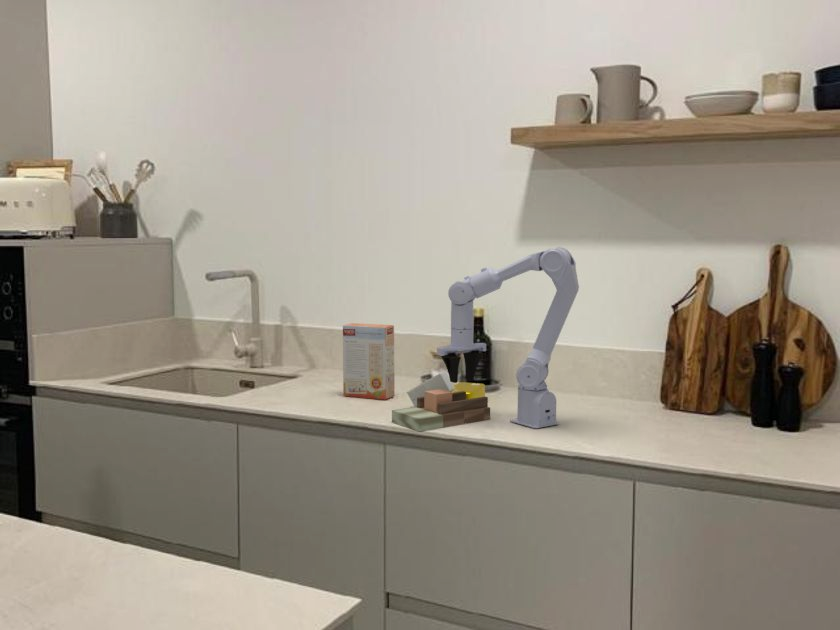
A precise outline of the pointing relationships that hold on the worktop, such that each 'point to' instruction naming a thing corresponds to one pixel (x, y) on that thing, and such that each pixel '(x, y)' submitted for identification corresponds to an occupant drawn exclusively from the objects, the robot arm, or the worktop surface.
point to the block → (436, 399)
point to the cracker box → (368, 361)
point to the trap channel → (443, 413)
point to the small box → (431, 386)
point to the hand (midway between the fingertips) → (461, 381)
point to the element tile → (470, 389)
